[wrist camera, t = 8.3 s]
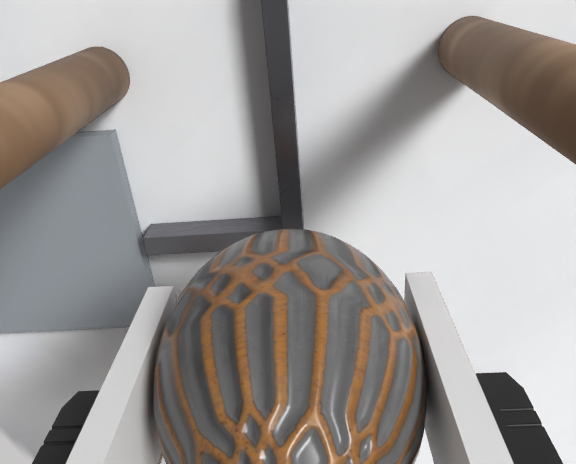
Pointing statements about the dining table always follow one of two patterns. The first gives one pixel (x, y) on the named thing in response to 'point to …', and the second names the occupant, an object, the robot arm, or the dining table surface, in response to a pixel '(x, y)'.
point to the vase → (290, 359)
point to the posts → (452, 54)
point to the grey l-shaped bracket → (287, 156)
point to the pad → (71, 241)
